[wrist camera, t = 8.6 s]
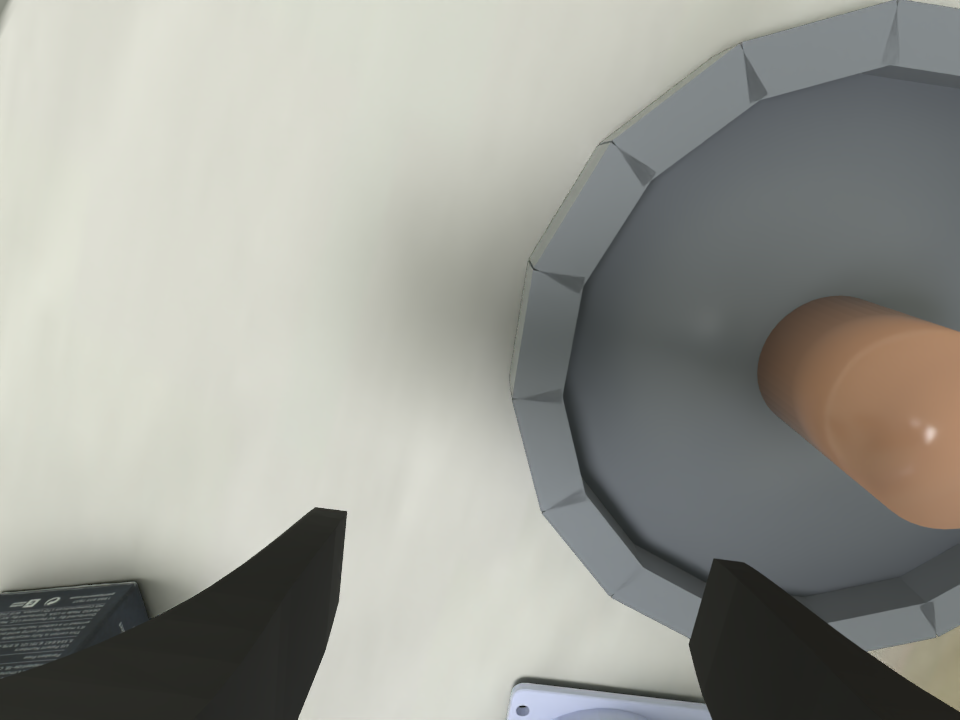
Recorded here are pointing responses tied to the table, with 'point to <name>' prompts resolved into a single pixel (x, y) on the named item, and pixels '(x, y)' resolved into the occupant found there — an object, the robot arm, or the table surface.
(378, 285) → the table surface
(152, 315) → the table surface
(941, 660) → the table surface
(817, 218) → the round tray
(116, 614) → the box
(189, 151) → the table surface
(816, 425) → the terracotta rounded cylinder
